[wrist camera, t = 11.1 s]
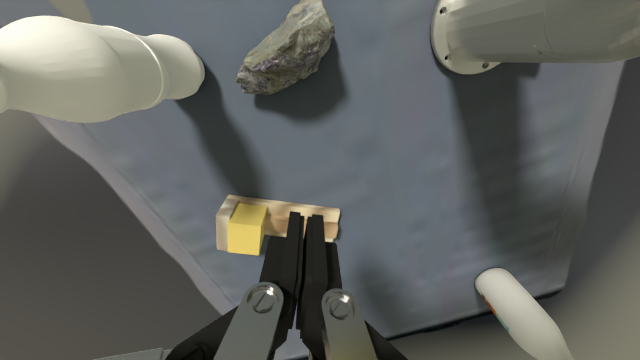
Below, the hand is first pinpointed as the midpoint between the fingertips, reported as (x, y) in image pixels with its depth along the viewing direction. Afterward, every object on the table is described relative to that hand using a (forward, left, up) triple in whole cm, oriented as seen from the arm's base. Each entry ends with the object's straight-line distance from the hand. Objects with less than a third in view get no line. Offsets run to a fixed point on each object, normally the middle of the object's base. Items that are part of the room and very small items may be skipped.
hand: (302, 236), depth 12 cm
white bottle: (+18, -4, -27) cm, 33 cm away
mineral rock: (+4, -9, -27) cm, 29 cm away
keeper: (+8, +19, -26) cm, 33 cm away
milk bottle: (-46, +29, -27) cm, 61 cm away
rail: (+2, +19, -27) cm, 33 cm away
